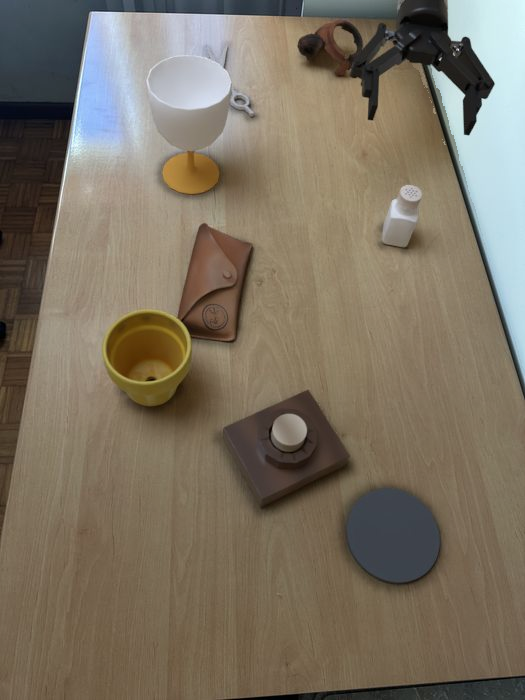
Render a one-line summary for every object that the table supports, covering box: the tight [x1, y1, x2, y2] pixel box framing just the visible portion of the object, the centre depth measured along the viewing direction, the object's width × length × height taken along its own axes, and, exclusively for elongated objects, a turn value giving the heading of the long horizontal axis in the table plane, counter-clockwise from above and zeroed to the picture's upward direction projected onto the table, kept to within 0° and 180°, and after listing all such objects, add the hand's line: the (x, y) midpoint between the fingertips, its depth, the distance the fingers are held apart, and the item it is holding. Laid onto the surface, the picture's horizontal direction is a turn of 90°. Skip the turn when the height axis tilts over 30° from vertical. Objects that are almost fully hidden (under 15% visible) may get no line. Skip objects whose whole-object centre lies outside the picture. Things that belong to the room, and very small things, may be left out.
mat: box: [345, 487, 441, 585], centre depth 77 cm, size 11×11×1 cm
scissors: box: [205, 42, 255, 118], centre depth 117 cm, size 11×1×20 cm
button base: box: [221, 389, 351, 508], centre depth 80 cm, size 12×10×5 cm
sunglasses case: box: [176, 222, 254, 342], centre depth 93 cm, size 18×7×7 cm, turn 173°
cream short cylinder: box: [271, 414, 307, 452], centre depth 77 cm, size 4×4×2 cm
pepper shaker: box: [381, 184, 423, 248], centre depth 98 cm, size 4×4×10 cm
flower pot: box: [101, 308, 193, 407], centre depth 81 cm, size 10×10×10 cm
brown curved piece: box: [296, 19, 364, 76], centre depth 120 cm, size 12×10×8 cm
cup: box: [145, 54, 233, 195], centre depth 98 cm, size 12×12×17 cm
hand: (421, 120), depth 91 cm, fingers open, 13 cm apart
